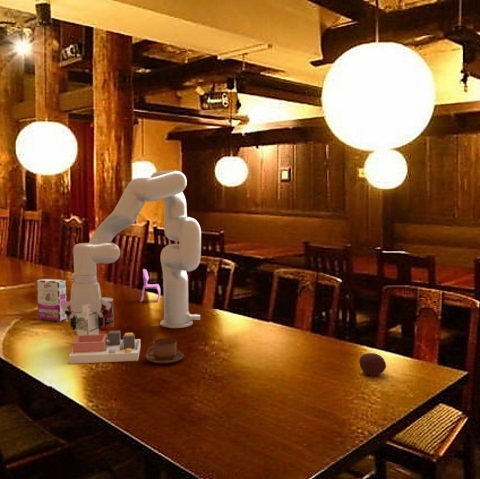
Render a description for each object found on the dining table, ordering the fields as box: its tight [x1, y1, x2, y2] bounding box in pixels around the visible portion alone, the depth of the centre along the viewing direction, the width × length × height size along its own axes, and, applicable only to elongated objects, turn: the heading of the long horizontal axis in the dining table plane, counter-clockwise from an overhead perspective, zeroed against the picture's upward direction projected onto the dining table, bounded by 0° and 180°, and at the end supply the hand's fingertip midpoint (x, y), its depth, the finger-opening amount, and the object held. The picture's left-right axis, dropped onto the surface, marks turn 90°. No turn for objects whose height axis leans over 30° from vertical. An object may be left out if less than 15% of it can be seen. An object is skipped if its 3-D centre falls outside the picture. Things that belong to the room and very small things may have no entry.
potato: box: [358, 352, 387, 376], centre depth 168 cm, size 7×8×6 cm
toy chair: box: [139, 268, 161, 303], centre depth 272 cm, size 8×9×15 cm
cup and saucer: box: [145, 337, 185, 365], centre depth 182 cm, size 12×12×6 cm
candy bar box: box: [36, 278, 68, 323], centre depth 236 cm, size 11×5×16 cm, turn 68°
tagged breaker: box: [122, 332, 136, 349], centre depth 187 cm, size 3×3×5 cm
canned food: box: [98, 296, 115, 331], centre depth 223 cm, size 8×8×11 cm
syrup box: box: [75, 304, 100, 338], centre depth 202 cm, size 6×6×14 cm
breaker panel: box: [68, 333, 141, 364], centre depth 188 cm, size 21×16×6 cm
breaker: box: [108, 330, 122, 345], centre depth 191 cm, size 3×3×4 cm
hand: (87, 328), depth 202 cm, fingers open, 8 cm apart
